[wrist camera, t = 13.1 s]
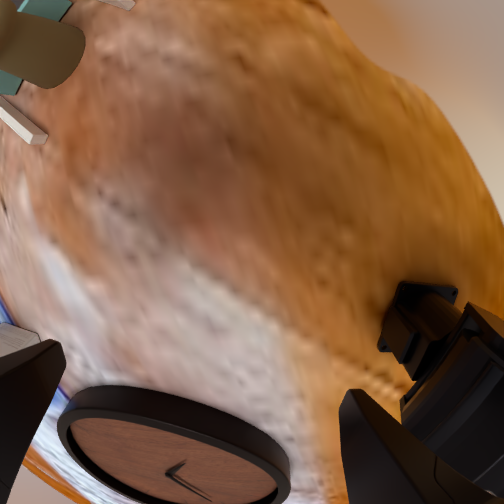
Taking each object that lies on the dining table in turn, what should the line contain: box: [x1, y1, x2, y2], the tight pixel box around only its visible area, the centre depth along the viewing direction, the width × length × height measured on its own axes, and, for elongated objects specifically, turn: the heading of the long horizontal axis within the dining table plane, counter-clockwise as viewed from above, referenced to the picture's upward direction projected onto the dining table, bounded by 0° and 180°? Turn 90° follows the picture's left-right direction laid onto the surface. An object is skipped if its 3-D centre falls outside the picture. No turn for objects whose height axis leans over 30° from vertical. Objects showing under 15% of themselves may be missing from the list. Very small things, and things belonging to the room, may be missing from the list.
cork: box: [0, 0, 85, 89], centre depth 10 cm, size 6×6×11 cm
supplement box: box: [0, 322, 40, 357], centre depth 19 cm, size 7×7×13 cm
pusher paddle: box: [0, 0, 72, 96], centre depth 12 cm, size 1×10×5 cm, turn 143°
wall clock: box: [57, 385, 291, 504], centre depth 28 cm, size 31×4×31 cm
